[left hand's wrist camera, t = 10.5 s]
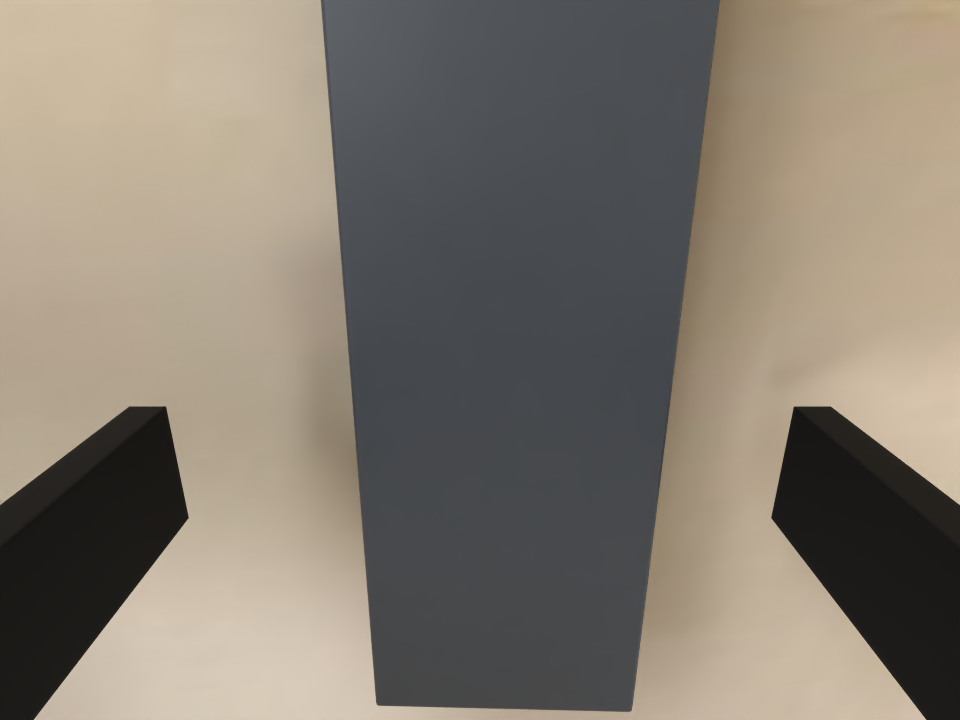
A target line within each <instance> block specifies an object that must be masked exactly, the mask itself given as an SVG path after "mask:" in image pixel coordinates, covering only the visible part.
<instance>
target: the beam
mask: <svg viewBox="0 0 960 720" xmlns="http://www.w3.org/2000/svg"><path fill="white" fill-rule="evenodd" d="M719 2H720V0H321V7H322V20H323V32H324V45H325V58H326V70H327V83H328V96H329V109H330V121H331V134H332V147H333V159H334V172H335V185H336V197H337V210H338V223H339V236H340V248H341V261H342V274H343V286H344V299H345V312H346V324H347V337H348V350H349V363H350V375H351V388H352V401H353V413H354V426H355V439H356V451H357V464H358V477H359V490H360V502H361V515H362V528H363V540H364V553H365V566H366V579H367V591H368V604H369V617H370V629H371V642H372V655H373V667H374V680H375V693H376V703H377V705H379V706H414V707H455V708H495V709H535V710H576V711H616V712H630V711H631V710H632V705H633V697H634V689H635V681H636V672H637V664H638V656H639V648H640V640H641V632H642V624H643V616H644V608H645V600H646V592H647V584H648V576H649V567H650V559H651V551H652V543H653V535H654V527H655V519H656V511H657V503H658V495H659V487H660V479H661V471H662V462H663V454H664V446H665V438H666V430H667V422H668V414H669V406H670V398H671V390H672V382H673V374H674V365H675V357H676V349H677V341H678V333H679V325H680V317H681V309H682V301H683V293H684V285H685V277H686V269H687V260H688V252H689V244H690V236H691V228H692V220H693V212H694V204H695V196H696V188H697V180H698V172H699V164H700V155H701V147H702V139H703V131H704V123H705V115H706V107H707V99H708V91H709V83H710V75H711V67H712V59H713V50H714V42H715V34H716V26H717V18H718V10H719Z"/></svg>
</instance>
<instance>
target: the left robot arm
mask: <svg viewBox="0 0 960 720" xmlns="http://www.w3.org/2000/svg"><path fill="white" fill-rule="evenodd" d="M188 518H189V517H188V512H187V507H186V502H185V498H184V493H183V488H182V483H181V478H180V473H179V468H178V463H177V458H176V453H175V448H174V444H173V439H172V434H171V429H170V424H169V419H168V414H167V409H166V407H128V408H127V409H126V410H124V411H123V412H122V413H120V414H119V415H118V416H116V417H115V418H114V419H112V420H111V421H110V422H109V423H107V424H106V425H105V426H103V427H102V428H101V429H99V430H98V431H97V432H95V433H94V434H93V435H92V436H90V437H89V438H88V439H86V440H85V441H84V442H82V443H81V444H80V445H78V446H77V447H76V448H74V449H73V450H72V451H71V452H69V453H68V454H67V455H65V456H64V457H63V458H61V459H60V460H59V461H57V462H56V463H55V464H54V465H52V466H51V467H50V468H48V469H47V470H46V471H44V472H43V473H42V474H40V475H39V476H38V477H36V478H35V479H34V480H33V481H31V482H30V483H29V484H27V485H26V486H25V487H23V488H22V489H21V490H19V491H18V492H17V493H16V494H14V495H13V496H12V497H10V498H9V499H8V500H6V501H5V502H4V503H2V504H1V505H0V720H34V719H35V717H36V716H37V715H38V713H39V712H40V711H41V709H42V708H43V707H44V706H45V704H46V703H47V702H48V700H49V699H50V698H51V696H52V695H53V694H54V692H55V691H56V690H57V689H58V687H59V686H60V685H61V683H62V682H63V681H64V679H65V678H66V677H67V676H68V674H69V673H70V672H71V670H72V669H73V668H74V666H75V665H76V664H77V663H78V661H79V660H80V659H81V657H82V656H83V655H84V653H85V652H86V651H87V650H88V648H89V647H90V646H91V644H92V643H93V642H94V640H95V639H96V638H97V637H98V635H99V634H100V633H101V631H102V630H103V629H104V627H105V626H106V625H107V624H108V622H109V621H110V620H111V618H112V617H113V616H114V614H115V613H116V612H117V611H118V609H119V608H120V607H121V605H122V604H123V603H124V601H125V600H126V599H127V598H128V596H129V595H130V594H131V592H132V591H133V590H134V588H135V587H136V586H137V585H138V583H139V582H140V581H141V579H142V578H143V577H144V575H145V574H146V573H147V572H148V570H149V569H150V568H151V566H152V565H153V564H154V562H155V561H156V560H157V559H158V557H159V556H160V555H161V553H162V552H163V551H164V549H165V548H166V547H167V546H168V544H169V543H170V542H171V540H172V539H173V538H174V536H175V535H176V534H177V533H178V531H179V530H180V529H181V527H182V526H183V525H184V523H185V522H186V521H187V519H188ZM771 518H772V520H773V521H774V522H775V523H776V525H777V526H778V527H779V529H780V530H781V531H782V533H783V534H784V535H785V536H786V538H787V539H788V540H789V542H790V543H791V544H792V546H793V547H794V548H795V549H796V551H797V552H798V553H799V555H800V556H801V557H802V559H803V560H804V561H805V562H806V564H807V565H808V566H809V568H810V569H811V570H812V572H813V573H814V574H815V575H816V577H817V578H818V579H819V581H820V582H821V583H822V585H823V586H824V587H825V588H826V590H827V591H828V592H829V594H830V595H831V596H832V598H833V599H834V600H835V601H836V603H837V604H838V605H839V607H840V608H841V609H842V611H843V612H844V613H845V614H846V616H847V617H848V618H849V620H850V621H851V622H852V624H853V625H854V626H855V627H856V629H857V630H858V631H859V633H860V634H861V635H862V637H863V638H864V639H865V640H866V642H867V643H868V644H869V646H870V647H871V648H872V650H873V651H874V652H875V653H876V655H877V656H878V657H879V659H880V660H881V661H882V663H883V664H884V665H885V666H886V668H887V669H888V670H889V672H890V673H891V674H892V676H893V677H894V678H895V679H896V681H897V682H898V683H899V685H900V686H901V687H902V689H903V690H904V691H905V692H906V694H907V695H908V696H909V698H910V699H911V700H912V702H913V703H914V704H915V706H916V707H917V708H918V709H919V711H920V712H921V713H922V715H923V716H924V717H925V719H926V720H960V505H959V504H958V503H956V502H955V501H954V500H952V499H951V498H950V497H948V496H947V495H946V494H944V493H943V492H942V491H941V490H939V489H938V488H937V487H935V486H934V485H933V484H931V483H930V482H929V481H927V480H926V479H925V478H924V477H922V476H921V475H920V474H918V473H917V472H916V471H914V470H913V469H912V468H910V467H909V466H908V465H906V464H905V463H904V462H903V461H901V460H900V459H899V458H897V457H896V456H895V455H893V454H892V453H891V452H889V451H888V450H887V449H886V448H884V447H883V446H882V445H880V444H879V443H878V442H876V441H875V440H874V439H872V438H871V437H870V436H868V435H867V434H866V433H865V432H863V431H862V430H861V429H859V428H858V427H857V426H855V425H854V424H853V423H851V422H850V421H849V420H848V419H846V418H845V417H844V416H842V415H841V414H840V413H838V412H837V411H836V410H834V409H833V408H832V407H794V409H793V414H792V419H791V424H790V429H789V434H788V439H787V443H786V448H785V453H784V458H783V463H782V468H781V473H780V478H779V483H778V488H777V493H776V498H775V502H774V507H773V512H772V517H771Z"/></svg>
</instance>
